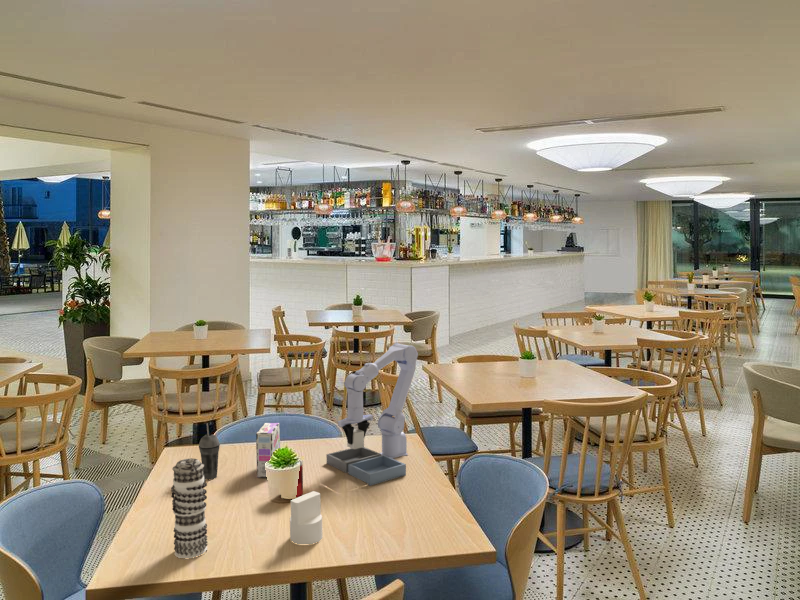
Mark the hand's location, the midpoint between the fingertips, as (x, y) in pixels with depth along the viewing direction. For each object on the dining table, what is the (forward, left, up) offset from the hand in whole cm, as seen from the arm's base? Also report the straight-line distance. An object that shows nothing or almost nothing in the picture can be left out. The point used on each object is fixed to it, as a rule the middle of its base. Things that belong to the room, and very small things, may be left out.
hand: (355, 442), depth 237 cm
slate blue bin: (0, +13, -9) cm, 16 cm away
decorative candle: (+73, +27, -9) cm, 78 cm away
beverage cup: (+47, -23, -9) cm, 53 cm away
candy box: (+28, -15, -9) cm, 33 cm away
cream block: (0, 0, -2) cm, 2 cm away
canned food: (+33, +10, -9) cm, 36 cm away
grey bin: (0, -1, -9) cm, 9 cm away
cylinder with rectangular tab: (+45, +40, -9) cm, 61 cm away
